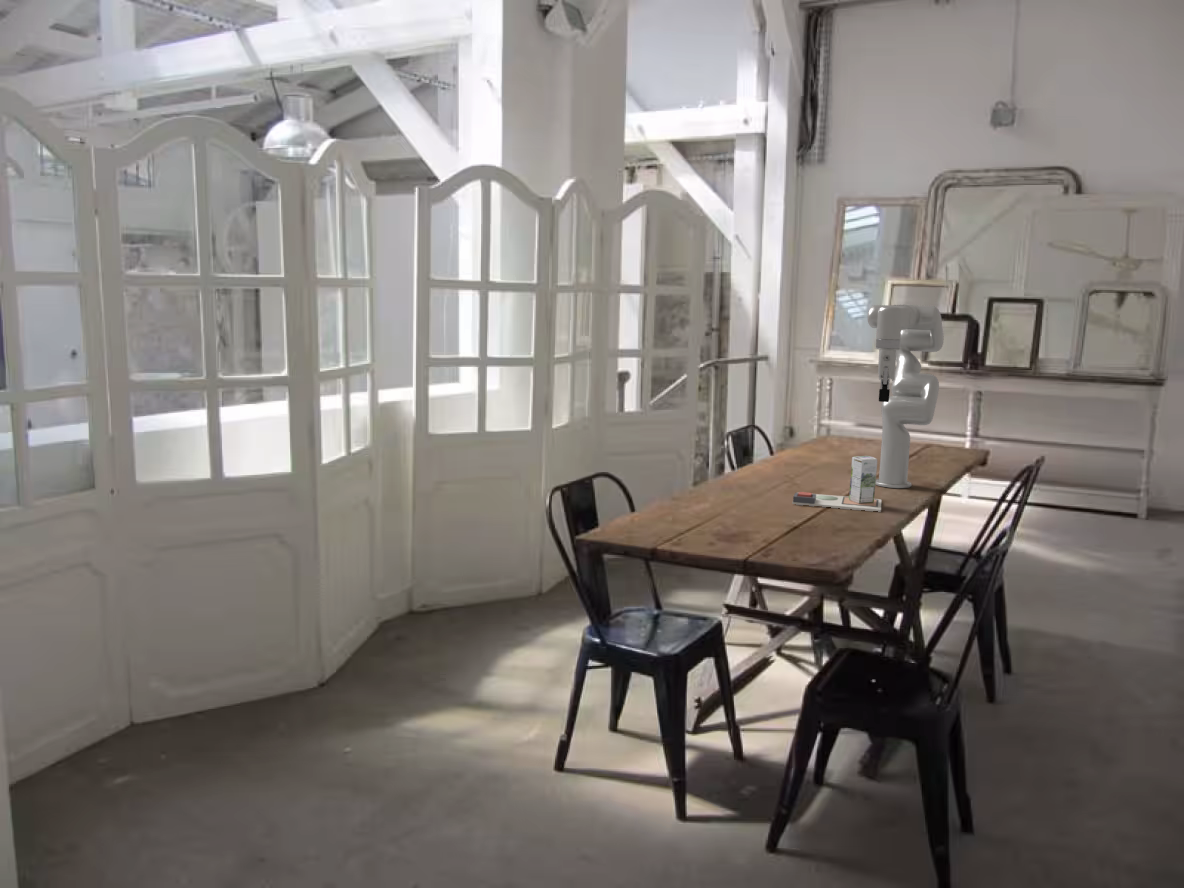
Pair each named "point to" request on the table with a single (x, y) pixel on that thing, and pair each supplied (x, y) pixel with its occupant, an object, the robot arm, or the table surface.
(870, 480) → the syrup box
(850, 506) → the picture board
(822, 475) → the table surface
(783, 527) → the table surface
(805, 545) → the table surface
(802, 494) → the button
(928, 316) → the robot arm
